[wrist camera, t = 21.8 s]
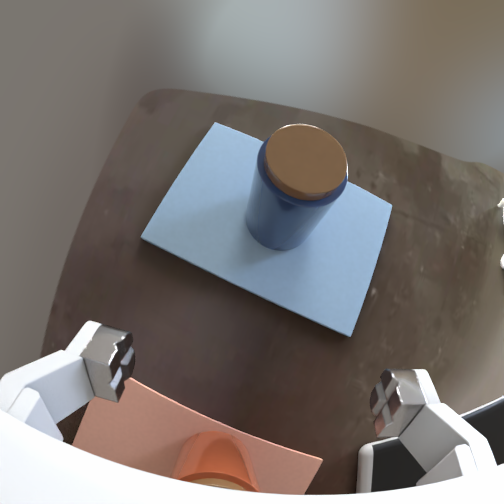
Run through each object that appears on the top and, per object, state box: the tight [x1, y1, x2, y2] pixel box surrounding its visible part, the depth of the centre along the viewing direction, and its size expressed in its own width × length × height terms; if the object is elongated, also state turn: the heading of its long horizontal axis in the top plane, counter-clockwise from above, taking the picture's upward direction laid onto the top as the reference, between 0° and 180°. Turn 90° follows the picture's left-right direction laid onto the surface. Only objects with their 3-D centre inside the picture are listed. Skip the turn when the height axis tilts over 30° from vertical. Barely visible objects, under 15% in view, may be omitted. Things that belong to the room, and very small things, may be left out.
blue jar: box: [246, 124, 348, 251], centre depth 23 cm, size 6×6×10 cm
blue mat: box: [141, 123, 392, 337], centre depth 28 cm, size 20×14×1 cm
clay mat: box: [72, 377, 323, 495], centre depth 21 cm, size 20×14×1 cm
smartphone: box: [356, 396, 504, 494], centre depth 22 cm, size 13×27×2 cm, turn 92°
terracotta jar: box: [169, 431, 262, 493], centre depth 17 cm, size 6×6×10 cm
